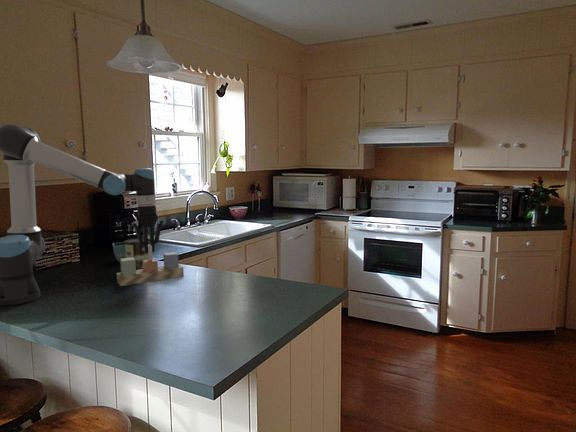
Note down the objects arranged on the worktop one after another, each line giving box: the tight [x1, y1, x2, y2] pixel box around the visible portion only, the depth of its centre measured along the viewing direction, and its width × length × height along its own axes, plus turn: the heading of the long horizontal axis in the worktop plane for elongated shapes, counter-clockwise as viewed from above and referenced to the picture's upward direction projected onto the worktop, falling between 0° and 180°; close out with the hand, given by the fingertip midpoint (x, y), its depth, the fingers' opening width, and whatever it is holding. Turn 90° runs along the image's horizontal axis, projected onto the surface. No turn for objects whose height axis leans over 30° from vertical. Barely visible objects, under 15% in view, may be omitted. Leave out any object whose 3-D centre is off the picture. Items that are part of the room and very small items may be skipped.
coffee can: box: [123, 238, 148, 270], centre depth 204 cm, size 10×10×14 cm
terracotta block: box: [143, 258, 159, 272], centre depth 188 cm, size 5×5×7 cm
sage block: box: [119, 257, 136, 276], centre depth 183 cm, size 5×5×7 cm
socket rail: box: [116, 264, 185, 287], centre depth 188 cm, size 26×7×4 cm, turn 121°
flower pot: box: [112, 241, 126, 263], centre depth 223 cm, size 9×9×9 cm
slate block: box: [162, 251, 180, 269], centre depth 192 cm, size 5×5×7 cm
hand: (150, 260), depth 187 cm, fingers closed
